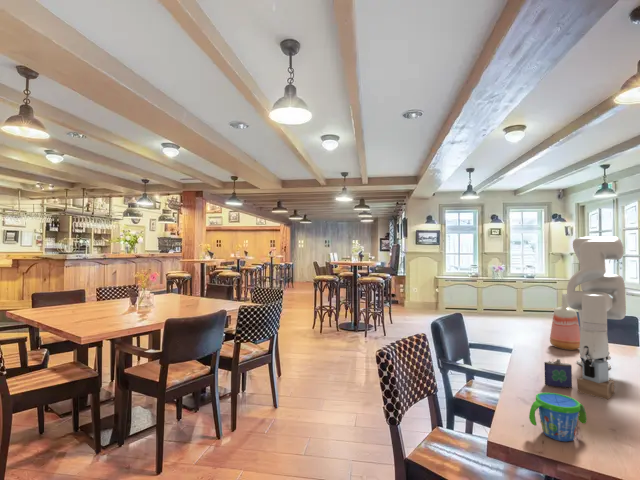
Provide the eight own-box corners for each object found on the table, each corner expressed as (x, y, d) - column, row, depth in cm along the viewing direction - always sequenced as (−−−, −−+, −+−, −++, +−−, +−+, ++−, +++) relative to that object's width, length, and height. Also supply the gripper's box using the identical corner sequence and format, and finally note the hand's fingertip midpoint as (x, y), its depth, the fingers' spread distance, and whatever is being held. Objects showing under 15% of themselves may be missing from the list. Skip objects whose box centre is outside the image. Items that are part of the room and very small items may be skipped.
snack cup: (540, 445, 96) (540, 406, 96) (520, 426, 106) (519, 391, 107) (600, 446, 95) (599, 408, 96) (573, 427, 106) (573, 392, 106)
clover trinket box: (570, 386, 139) (570, 358, 139) (573, 389, 136) (573, 361, 136) (543, 384, 141) (543, 356, 141) (546, 386, 138) (545, 358, 139)
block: (585, 387, 139) (585, 374, 139) (614, 394, 132) (614, 380, 132) (577, 392, 133) (577, 378, 134) (607, 400, 126) (607, 386, 127)
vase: (588, 351, 188) (587, 295, 190) (561, 351, 189) (560, 295, 190) (569, 344, 203) (568, 292, 204) (544, 344, 203) (543, 292, 204)
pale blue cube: (592, 376, 137) (591, 357, 137) (608, 381, 131) (608, 361, 132) (582, 378, 134) (582, 359, 135) (599, 383, 129) (598, 363, 129)
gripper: (597, 323, 140) (598, 369, 140) (569, 326, 134) (569, 375, 133) (619, 327, 133) (621, 375, 133) (590, 330, 127) (591, 382, 126)
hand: (595, 375), depth 133 cm, fingers open, 6 cm apart
